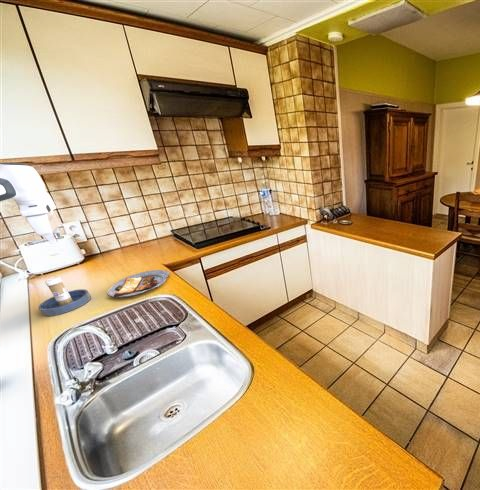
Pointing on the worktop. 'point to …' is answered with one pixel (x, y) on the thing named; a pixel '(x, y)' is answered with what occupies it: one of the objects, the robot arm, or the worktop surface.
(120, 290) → the food plate
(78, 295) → the bowl
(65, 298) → the sprinkles bottle
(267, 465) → the worktop surface
